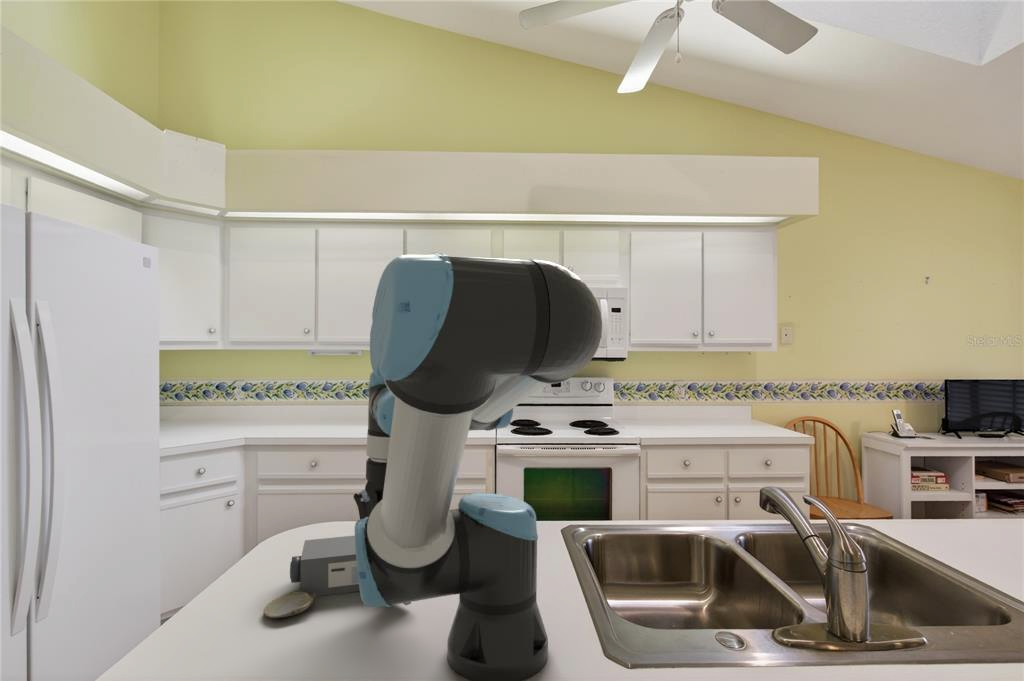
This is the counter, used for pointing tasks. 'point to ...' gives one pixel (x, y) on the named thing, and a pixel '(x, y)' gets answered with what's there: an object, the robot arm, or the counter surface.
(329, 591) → the camera body
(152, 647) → the counter surface
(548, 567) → the counter surface
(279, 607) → the seashell
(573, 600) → the counter surface
